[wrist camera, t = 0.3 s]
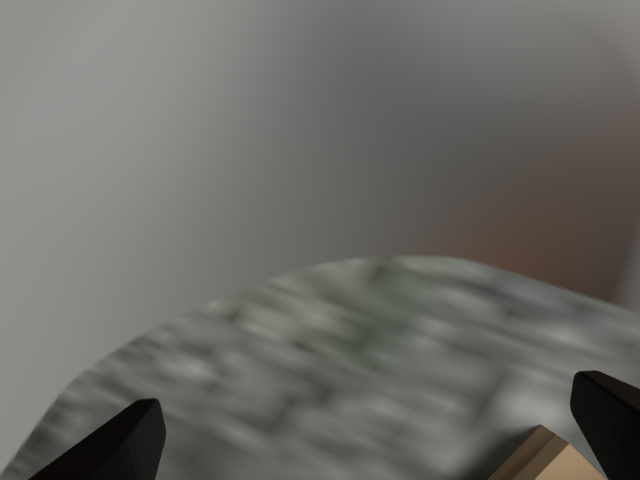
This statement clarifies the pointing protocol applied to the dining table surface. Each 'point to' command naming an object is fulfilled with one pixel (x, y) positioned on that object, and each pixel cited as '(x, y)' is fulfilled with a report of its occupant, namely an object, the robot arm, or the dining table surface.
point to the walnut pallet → (545, 460)
